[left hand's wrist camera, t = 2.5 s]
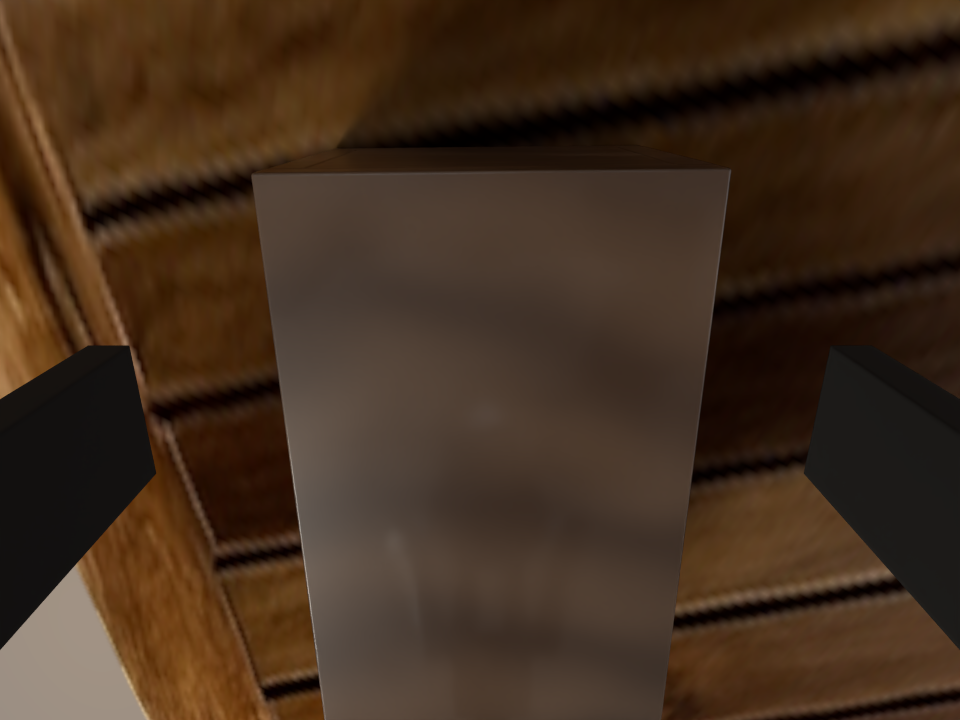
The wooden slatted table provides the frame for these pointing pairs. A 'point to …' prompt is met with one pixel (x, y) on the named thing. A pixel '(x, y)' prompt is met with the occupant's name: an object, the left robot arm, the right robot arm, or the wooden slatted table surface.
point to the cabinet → (492, 418)
